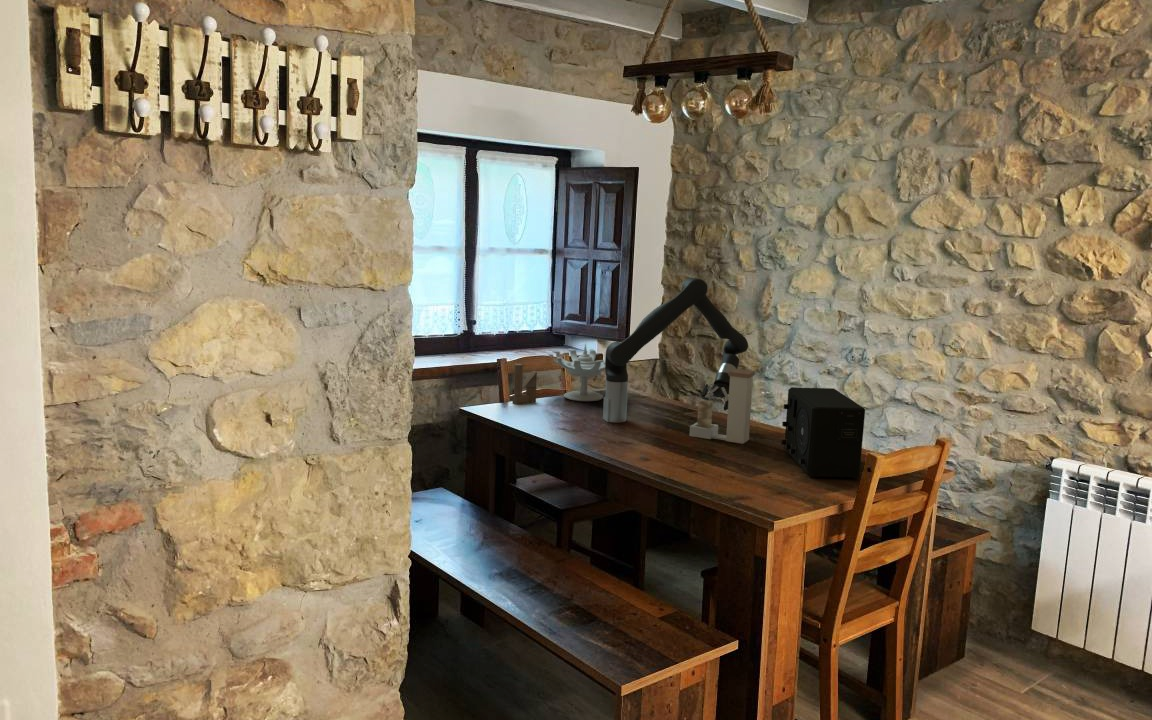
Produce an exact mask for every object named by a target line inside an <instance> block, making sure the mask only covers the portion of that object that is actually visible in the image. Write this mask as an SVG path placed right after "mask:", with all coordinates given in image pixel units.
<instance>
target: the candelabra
mask: <svg viewBox="0 0 1152 720" xmlns="http://www.w3.org/2000/svg"><path fill="white" fill-rule="evenodd" d="M586 342H587V341H585V343H584V349H583V351H582V352H583V353H582V354H580V355H579V356H578V354H577V350H576V349H574V348H567V350H568V352H570V353H569V354H570V358H571V360H572V361H567V360H566V359H564V357H562V356H561V353H560V351H559V350H552V353H548V354H547V356H549V357H551V360H552V361H553V362H554V363H555V364H556V365H558V366H560V367H562V368H563V369H565V370H566V371H567V373H568V374H569V375H571V376H575V377H579V379H580V389H579V390H574V391H568V392H566V393H563V397H564V398H565V399H567V400H570V401H575V402H596V401H600V400H602V399H604V395H603V394H602V393H599V392H595V391H589V390H588V382H589V378H590V377H598V376H600V375H601V374H602V372H603V371H605V358H604V359H599V360H595V359H596V357H597V352H596V350H595V349H594V348H589V349H588V351H589V354H588V351H587V343H586ZM554 354H555V356H556V358H555V357H554Z"/></svg>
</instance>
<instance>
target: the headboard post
mask: <svg viewBox="0 0 1152 720" xmlns="http://www.w3.org/2000/svg"><path fill="white" fill-rule="evenodd" d="M755 375H756V372H755V370H746V369H739V368H737V369H734V370H732V371H729V374H728V376H730V385H729V394H728V397H729V401H728V410H727V418H726V434H722V433H721V434H719V424H715V423H714V424H713V423H711V428H704V427H697V422H695V423H693V424H692V425H690V426H689V437H694V438H700V439H707V440H711V439H715V440H722V441H725V442H730V443H736V444H742V445H743V444H745V443H746V442H748V441H749V440H750V427H751V411H752V398H753V397H752V395H753V394H752V393H753V381H754V379H753V378H754V376H755Z"/></svg>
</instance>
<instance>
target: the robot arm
mask: <svg viewBox="0 0 1152 720" xmlns="http://www.w3.org/2000/svg"><path fill="white" fill-rule="evenodd" d="M708 287H709V286H708V284H707V282H706V281H705V280H703V279H701V278H698V277H688V278H685V280H683V282H682V284H681V291H680V292H679V293H678V294H677V295H676V296H674V297H673V298H671V299H669V300H667V301H666V302H663V303H662V304H660V305H659V306H657V307H656V308H654V309H653V310H652V311H651V312H649V313H648V314H647V315H646V316H644V317H643V319H641V321H640V322H639V324H638V326H637V327H635V329H634V331H633V332H632V333H631V334H630V335H629V336H628V337H626V338H625V339H624V340H623V341H620V342H619V341H613V342H611V343H610V344H609V345H608V346H607V348H606V350H605V356H604V357H605V358H604V359H605V370H604V372H605V396H603V406H602V407H603V409H602V420H604V421H605V422H606V423H614V424H615V423H619V424H620V423H625V422H627V413H628V412H627V407H628V391H629V389H628V388H629V387H628V385H629V374H628V368H627V367H628V366H627V363H629V362H630V361H631V360H632V359H633V358H634V356H636V354H637V353H638V352H639V351H640V350H642V348H644V347H645V346H646V345H647V344H648V343H650V342H651V341H653V340H654V339H655V338H656V337H657V336H658V335H660V334H661V333H663V331H665V330H666V329H667V328H669V326H670V325H671V324H673V322H675V321H676V320H677V319H678V318H679V317H681V316H682V314H683V313H684V312H685V311H687V310H688V309H690V308H691V307H692V306H695V307H696V308H697V310H698V311H699V312H700V313H701V314H702V315H703V317H704V318H705V320H706V321H707V322H708V324H709V325H710V327H711V328H712V329H713V331H714V332H715V334H716V335H717V336H718V338H720V339H723V340H727V341H725V343H724V344H723V349H722V350H723V351H722V352H723V353H722V361H721V363H720V366H719V368H718V370H717V373H716V376H715V379H714V382H713V385H712V386H711V385H709V384H705V385H704V387H703V389H702V392H701V398H702V400H710V401H711V399H714V398H721V399H725V403H724V405H723V411H725V412H726V411H728V401H729V385H730V376H728V374H729V371H732V370H734V369H739V368H738V367H739V365H740V364H739V363H740V358H739V356H737V355H739V354H742V353H744V352H746V351H748V349H749V343H748V340H747V339H746V337H745V336H744V335H743V334H742V333H740V331H739V330H737V329H736V328H734V326H732V324H731V323H730V321H729V320H728V319H727V317H726V316H725V315H724V314H723V312H721V310H719V309H718V308H717V307H716V306H715V305H714V304H713V303H712V301H711V300H710V298H709V297H708V296H707V293H708V290H709V289H708Z"/></svg>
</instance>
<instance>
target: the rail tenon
mask: <svg viewBox="0 0 1152 720" xmlns="http://www.w3.org/2000/svg"><path fill="white" fill-rule="evenodd" d="M713 401H714V400H711V399H710V400H704V399H701V400H698V404H697V419H696V420H697V421H696V423H697V427H704V428H711V424H713V423H712V421H713V403H714V402H713Z"/></svg>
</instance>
